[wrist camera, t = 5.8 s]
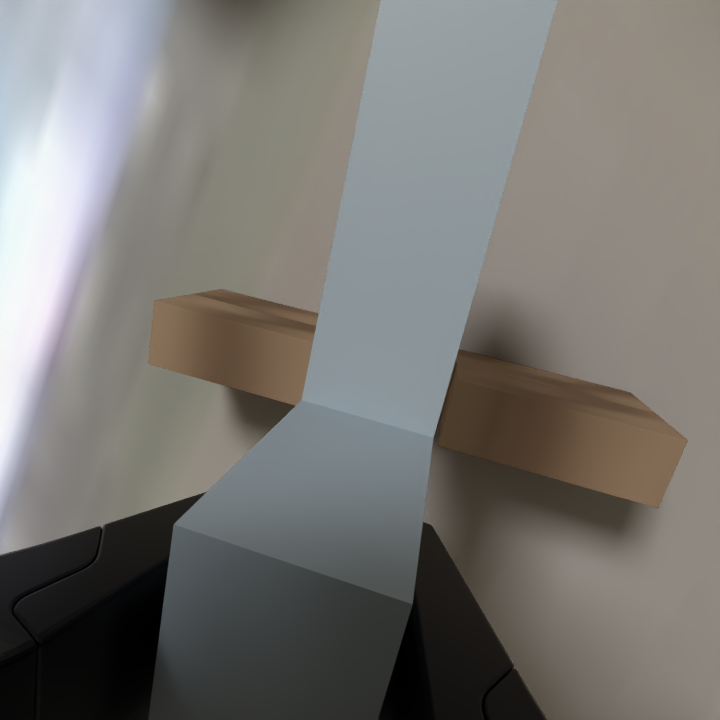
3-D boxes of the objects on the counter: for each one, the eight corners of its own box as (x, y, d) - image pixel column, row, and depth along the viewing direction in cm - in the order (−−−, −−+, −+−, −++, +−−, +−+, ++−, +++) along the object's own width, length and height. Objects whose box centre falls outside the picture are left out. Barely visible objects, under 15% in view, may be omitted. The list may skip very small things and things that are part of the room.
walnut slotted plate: (630, 392, 19) (687, 440, 14) (609, 445, 20) (658, 508, 15) (221, 289, 22) (154, 300, 17) (214, 339, 22) (147, 363, 18)
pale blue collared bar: (420, 67, 11) (304, -485, 3) (520, 85, 11) (740, -480, 2) (288, 653, 16) (96, 1114, 8) (356, 677, 16) (235, 1189, 7)
